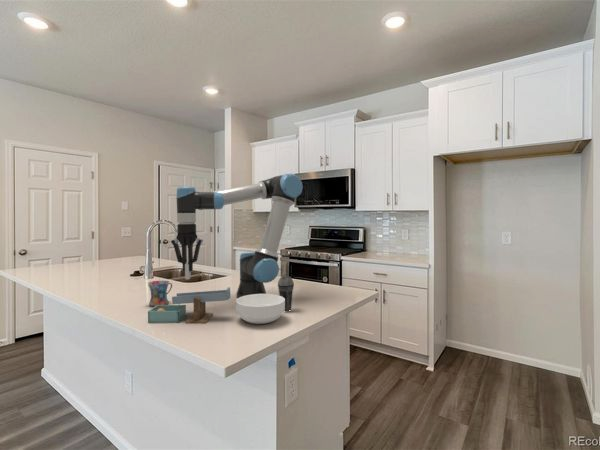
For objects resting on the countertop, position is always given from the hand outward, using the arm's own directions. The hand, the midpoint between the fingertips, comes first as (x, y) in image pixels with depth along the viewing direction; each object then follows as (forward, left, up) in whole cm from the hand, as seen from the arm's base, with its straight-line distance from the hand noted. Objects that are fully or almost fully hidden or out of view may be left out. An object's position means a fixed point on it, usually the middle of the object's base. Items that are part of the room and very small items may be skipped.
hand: (188, 278), depth 140 cm
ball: (+9, +7, -13) cm, 17 cm away
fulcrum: (-7, +7, -15) cm, 18 cm away
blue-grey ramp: (-8, +3, -8) cm, 11 cm away
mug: (+17, -15, -15) cm, 28 cm away
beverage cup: (-42, -4, -15) cm, 45 cm away
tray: (+6, +7, -15) cm, 18 cm away
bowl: (-32, +9, -16) cm, 36 cm away
